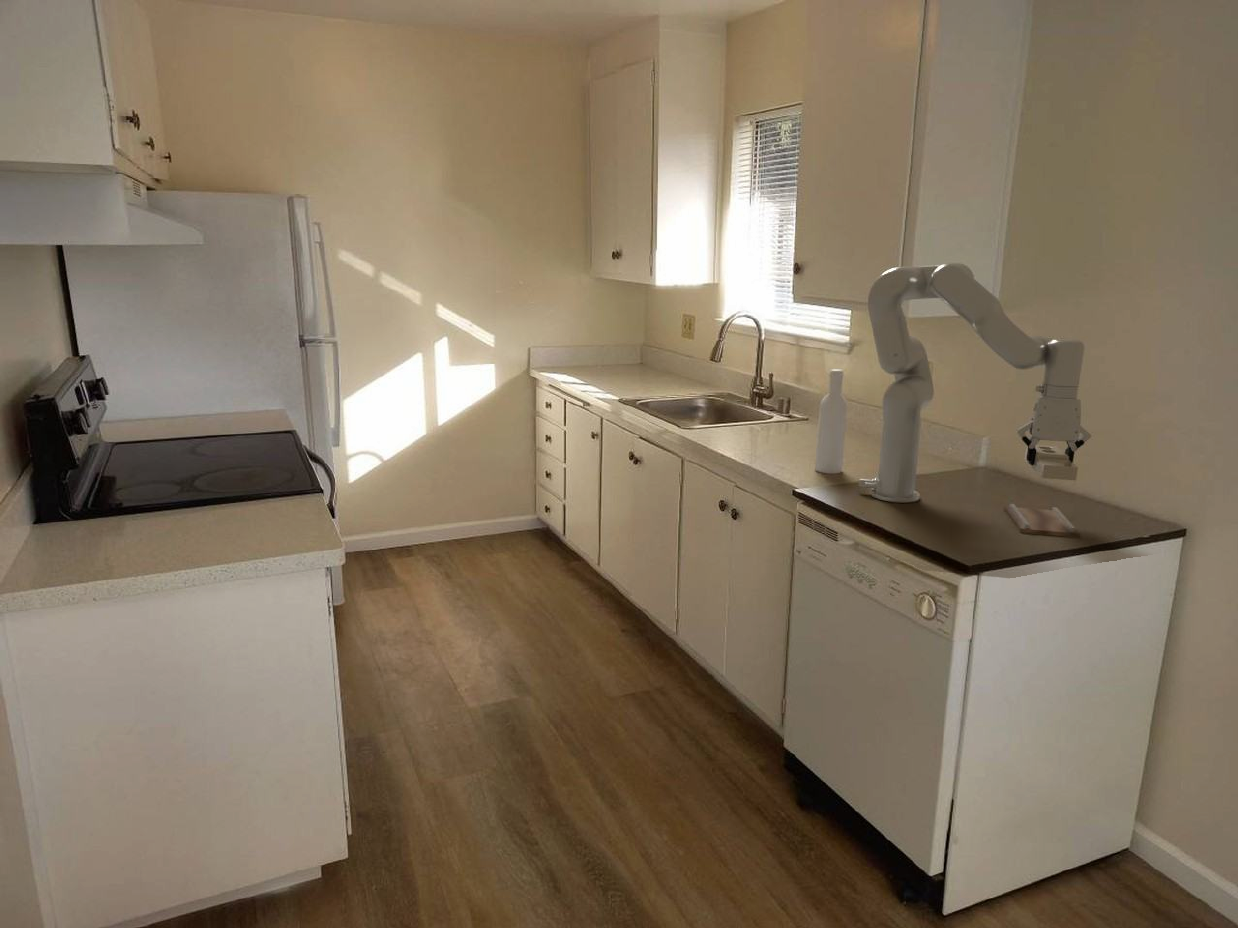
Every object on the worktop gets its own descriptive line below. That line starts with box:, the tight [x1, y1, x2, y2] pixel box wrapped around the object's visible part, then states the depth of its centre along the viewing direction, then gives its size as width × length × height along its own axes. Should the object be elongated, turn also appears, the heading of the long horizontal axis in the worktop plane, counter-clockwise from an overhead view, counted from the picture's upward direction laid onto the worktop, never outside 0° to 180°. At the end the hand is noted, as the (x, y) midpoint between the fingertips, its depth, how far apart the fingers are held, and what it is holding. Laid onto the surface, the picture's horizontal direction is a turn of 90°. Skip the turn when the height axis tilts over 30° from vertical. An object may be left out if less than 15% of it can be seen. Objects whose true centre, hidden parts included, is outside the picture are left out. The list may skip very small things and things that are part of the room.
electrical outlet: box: [1024, 444, 1079, 481], centre depth 206 cm, size 7×4×18 cm
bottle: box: [814, 368, 849, 475], centre depth 252 cm, size 8×8×30 cm
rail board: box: [1003, 503, 1081, 538], centre depth 210 cm, size 13×18×2 cm
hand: (1048, 464), depth 207 cm, fingers closed on electrical outlet, 7 cm apart
